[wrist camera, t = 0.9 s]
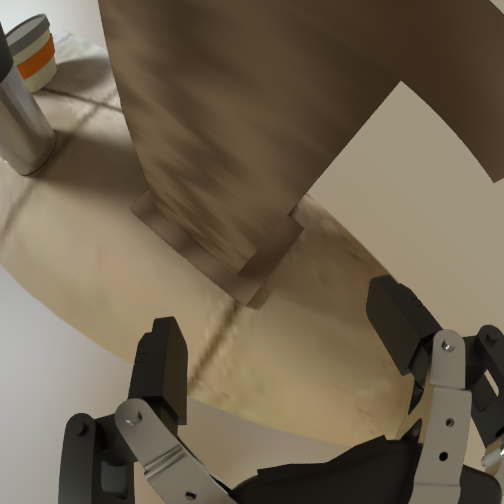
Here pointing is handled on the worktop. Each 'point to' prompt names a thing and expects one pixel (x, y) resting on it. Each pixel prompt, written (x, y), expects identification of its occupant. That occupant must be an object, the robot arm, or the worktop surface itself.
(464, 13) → the stand
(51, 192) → the worktop surface
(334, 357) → the worktop surface
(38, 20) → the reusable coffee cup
